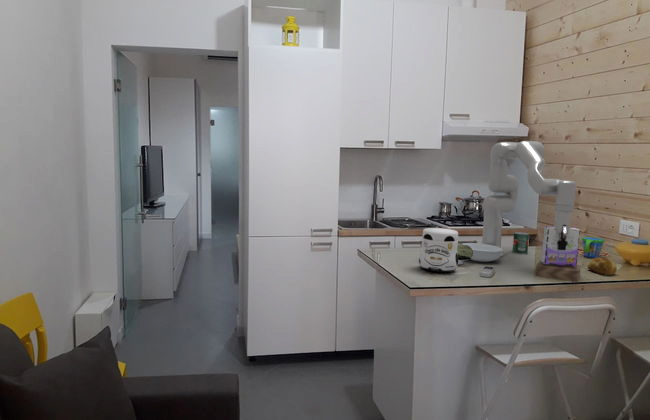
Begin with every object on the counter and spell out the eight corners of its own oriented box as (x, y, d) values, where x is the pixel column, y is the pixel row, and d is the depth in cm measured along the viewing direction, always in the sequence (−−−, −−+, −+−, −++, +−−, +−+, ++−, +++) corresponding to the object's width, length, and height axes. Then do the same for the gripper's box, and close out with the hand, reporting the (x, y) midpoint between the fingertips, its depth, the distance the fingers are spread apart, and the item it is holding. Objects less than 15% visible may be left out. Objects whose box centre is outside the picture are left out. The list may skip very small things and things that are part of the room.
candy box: (572, 263, 231) (576, 227, 229) (576, 266, 225) (580, 229, 223) (540, 261, 233) (543, 225, 231) (544, 264, 227) (547, 227, 225)
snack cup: (588, 254, 285) (590, 236, 284) (608, 257, 277) (610, 239, 276) (574, 256, 276) (576, 237, 275) (593, 260, 268) (595, 241, 266)
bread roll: (582, 270, 244) (583, 253, 243) (598, 269, 246) (600, 253, 245) (604, 276, 231) (606, 259, 230) (620, 275, 234) (622, 258, 233)
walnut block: (535, 276, 227) (536, 265, 227) (539, 270, 239) (540, 260, 239) (577, 282, 219) (578, 271, 219) (579, 276, 231) (580, 265, 231)
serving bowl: (493, 267, 241) (494, 252, 241) (451, 259, 254) (452, 246, 253) (507, 260, 258) (508, 247, 257) (467, 254, 270) (468, 241, 270)
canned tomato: (509, 251, 283) (510, 231, 281) (521, 251, 285) (522, 231, 284) (518, 254, 275) (520, 234, 274) (530, 254, 277) (532, 234, 276)
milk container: (429, 275, 219) (432, 234, 217) (411, 266, 236) (414, 227, 234) (465, 274, 224) (468, 233, 222) (445, 265, 241) (448, 227, 239)
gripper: (551, 206, 235) (547, 244, 237) (558, 210, 218) (554, 251, 221) (569, 207, 233) (565, 245, 235) (577, 211, 216) (573, 252, 219)
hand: (560, 248), depth 228 cm, fingers open, 6 cm apart
